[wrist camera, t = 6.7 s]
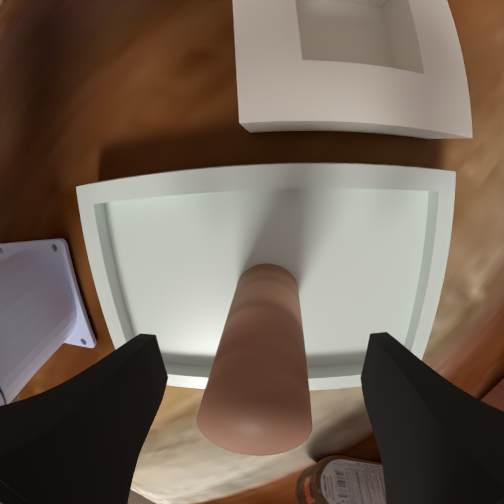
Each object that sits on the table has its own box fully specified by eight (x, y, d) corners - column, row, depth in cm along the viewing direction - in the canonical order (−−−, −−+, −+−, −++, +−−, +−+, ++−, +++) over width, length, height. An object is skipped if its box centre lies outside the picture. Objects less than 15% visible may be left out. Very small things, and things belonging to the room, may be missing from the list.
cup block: (249, 132, 12) (239, 123, 9) (240, -19, 9) (229, -61, 6) (427, 138, 12) (472, 138, 8) (403, -6, 9) (431, -37, 5)
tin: (292, 457, 21) (291, 535, 13) (314, 443, 20) (318, 527, 12) (393, 474, 22) (404, 529, 14) (413, 462, 21) (428, 518, 13)
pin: (238, 318, 14) (206, 451, 7) (234, 264, 14) (186, 389, 6) (297, 317, 14) (307, 455, 7) (298, 262, 13) (317, 392, 6)
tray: (138, 360, 18) (127, 379, 16) (97, 181, 14) (76, 186, 12) (405, 358, 16) (415, 378, 14) (435, 168, 12) (455, 171, 10)
